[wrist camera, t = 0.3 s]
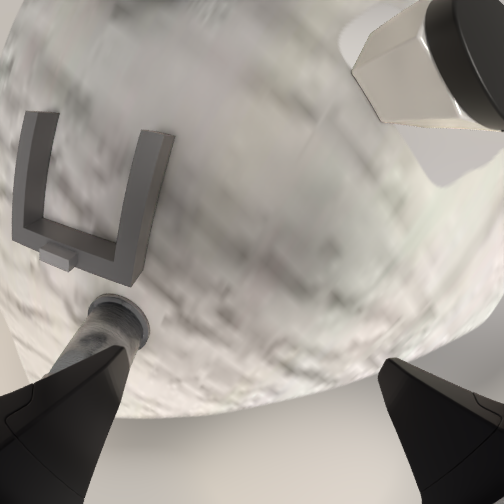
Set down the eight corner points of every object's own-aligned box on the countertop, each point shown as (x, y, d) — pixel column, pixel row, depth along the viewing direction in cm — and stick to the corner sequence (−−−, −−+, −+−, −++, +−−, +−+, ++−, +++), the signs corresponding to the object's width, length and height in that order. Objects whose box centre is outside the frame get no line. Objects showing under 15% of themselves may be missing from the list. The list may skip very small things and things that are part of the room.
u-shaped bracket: (46, 111, 16) (14, 110, 12) (175, 136, 18) (157, 134, 14) (30, 229, 20) (2, 245, 16) (142, 270, 22) (124, 297, 18)
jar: (417, 150, 19) (532, 173, 8) (337, 93, 17) (437, 53, 6) (447, 73, 16) (548, 61, 5) (376, 16, 14) (462, -43, 3)
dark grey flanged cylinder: (79, 302, 23) (21, 378, 13) (129, 286, 22) (71, 375, 12) (111, 352, 25) (73, 433, 15) (161, 342, 25) (131, 436, 15)
